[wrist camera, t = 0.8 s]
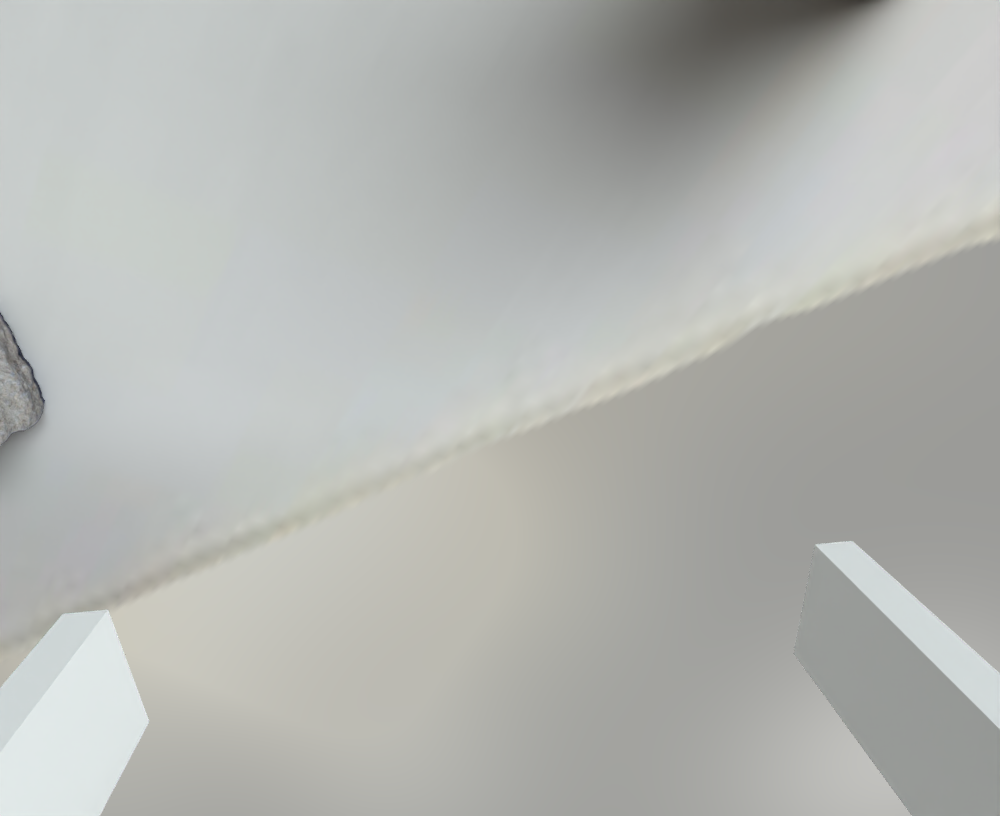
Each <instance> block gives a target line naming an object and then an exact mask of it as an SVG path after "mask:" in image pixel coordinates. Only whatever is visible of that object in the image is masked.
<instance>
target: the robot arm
mask: <svg viewBox="0 0 1000 816" xmlns="http://www.w3.org/2000/svg"><path fill="white" fill-rule="evenodd" d="M794 655H795V656H796V658H797V659H798V661H799V662H800V663H801V664H802V666H803V667H804V669H805V670H806V671H807V673H808V674H809V675H810V677H811V678H812V679H813V681H814V682H815V684H816V685H817V687H818V688H819V689H820V691H821V692H822V693H823V695H824V696H825V697H826V699H827V700H828V701H829V703H830V704H831V706H832V707H833V708H834V710H835V711H836V713H837V714H838V715H839V717H840V718H841V719H842V721H843V722H844V723H845V725H846V726H847V728H848V729H849V730H850V732H851V733H852V734H853V735H854V737H855V738H856V740H857V741H858V743H859V744H860V745H861V747H862V748H863V749H864V751H865V752H866V754H867V755H868V756H869V758H870V759H871V760H872V762H873V763H874V764H875V766H876V767H877V769H878V770H879V771H880V773H881V774H882V775H883V777H884V778H885V780H886V781H887V782H888V784H889V785H890V786H891V788H892V789H893V790H894V792H895V793H896V795H897V796H898V797H899V799H900V800H901V801H902V803H903V804H904V806H905V807H906V808H907V810H908V811H909V812H910V814H911V815H912V816H1000V673H999V672H998V671H996V670H995V669H994V668H993V667H992V666H991V665H990V664H989V663H987V662H986V661H985V660H984V659H983V658H982V657H981V656H980V655H978V653H976V652H975V651H974V650H973V649H972V648H971V647H970V646H969V645H968V644H966V643H965V642H964V641H963V640H962V639H961V638H960V637H959V636H957V635H956V634H955V633H954V632H953V631H952V630H951V629H950V628H949V627H947V626H946V625H945V624H944V623H943V622H942V621H941V620H940V619H939V618H937V617H936V616H935V615H934V614H933V613H932V612H931V611H930V610H929V609H927V608H926V607H925V606H924V605H923V604H922V603H921V602H920V601H919V600H917V599H916V598H915V597H914V596H913V595H912V594H911V593H910V592H908V591H907V590H906V589H905V588H904V587H903V586H902V585H901V584H900V583H899V582H897V581H896V580H895V579H894V578H893V577H892V576H891V575H890V574H889V573H887V572H886V571H885V570H884V569H883V568H882V567H881V566H879V564H877V563H876V562H875V561H874V560H873V559H872V558H871V557H870V556H869V555H867V554H866V553H865V552H864V551H863V550H862V549H861V548H860V547H858V546H857V545H856V544H855V543H854V542H853V541H847V542H836V543H825V544H815V546H814V551H813V556H812V562H811V566H810V571H809V576H808V582H807V587H806V592H805V597H804V602H803V607H802V612H801V617H800V622H799V627H798V632H797V637H796V643H795V647H794ZM148 723H149V720H148V717H147V714H146V711H145V709H144V706H143V703H142V700H141V698H140V695H139V692H138V690H137V687H136V684H135V681H134V679H133V676H132V673H131V670H130V668H129V665H128V662H127V660H126V657H125V654H124V651H123V649H122V646H121V643H120V640H119V638H118V635H117V633H116V630H115V627H114V624H113V621H112V619H111V616H110V613H109V611H108V610H99V611H88V612H77V613H66V614H62V615H61V617H60V618H59V619H58V620H57V621H56V623H55V624H54V625H53V626H52V627H51V628H50V630H49V631H48V632H47V633H46V634H45V635H44V637H43V638H42V639H41V640H40V641H39V643H38V644H37V645H36V646H35V647H34V648H33V650H32V651H31V652H30V653H29V654H28V655H27V657H26V658H25V659H24V660H23V661H22V663H21V664H20V665H19V666H18V667H17V669H16V670H15V671H14V672H13V673H12V674H11V675H10V677H9V678H8V679H7V680H6V681H5V682H4V684H3V685H2V686H1V687H0V816H100V814H101V812H102V811H103V809H104V806H105V805H106V803H107V801H108V799H109V797H110V795H111V793H112V791H113V790H114V788H115V786H116V784H117V782H118V780H119V778H120V776H121V774H122V773H123V771H124V769H125V767H126V765H127V763H128V761H129V759H130V757H131V756H132V754H133V752H134V750H135V748H136V746H137V744H138V742H139V740H140V738H141V737H142V735H143V733H144V731H145V729H146V727H147V725H148Z"/></svg>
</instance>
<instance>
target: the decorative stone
mask: <svg viewBox="0 0 1000 816" xmlns="http://www.w3.org/2000/svg"><path fill="white" fill-rule="evenodd" d="M44 401H45V400H44V399H43V398H42V396H41V390H40V387H39V385H38V383H37V381H36V380H35V378H34V376H33V370H32V367H31V366H30V364H29V363H28V362H27V361H26V360H25V358H24V357H23V356H22V353H21V350H20V348H19V347H18V345H17V344H16V341H15V338H14V336H13V335H12V331H11V330H10V328H9V326H8V324H7V323H6V322H5V321H4V320H3V317H2V315H1V313H0V446H1V445H2V444H3V443H4V442H6V441H7V439H8V438H9V436H10V435H11V434H12V433H14V432H19V431H25V430H26V429H28V428H30V427H32V426H33V425H34V424H36V423H37V422H38V420H39V419H40V417H41V415H42V412H43V407H44Z"/></svg>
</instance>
